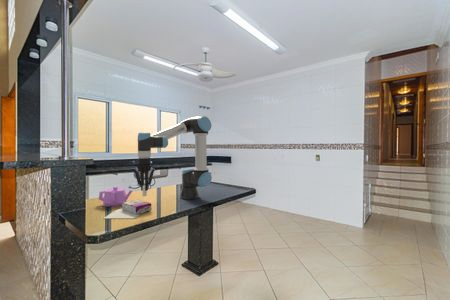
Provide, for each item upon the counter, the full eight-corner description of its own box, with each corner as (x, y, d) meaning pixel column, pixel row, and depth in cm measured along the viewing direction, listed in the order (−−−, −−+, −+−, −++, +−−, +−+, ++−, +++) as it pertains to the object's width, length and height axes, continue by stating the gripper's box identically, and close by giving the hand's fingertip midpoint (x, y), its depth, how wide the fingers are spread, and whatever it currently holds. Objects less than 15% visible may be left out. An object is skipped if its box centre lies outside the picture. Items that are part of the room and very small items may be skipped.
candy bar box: (151, 210, 144) (137, 206, 154) (151, 203, 144) (137, 199, 154) (135, 215, 135) (122, 209, 145) (135, 207, 135) (121, 202, 145)
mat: (145, 209, 148) (145, 209, 148) (134, 218, 130) (134, 218, 130) (117, 209, 147) (117, 209, 147) (103, 218, 129) (103, 218, 129)
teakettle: (96, 205, 158) (96, 187, 158) (118, 200, 173) (118, 184, 173) (112, 208, 150) (112, 190, 150) (133, 202, 165) (133, 186, 165)
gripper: (156, 157, 142) (156, 194, 142) (136, 157, 141) (136, 194, 142) (153, 158, 134) (153, 197, 135) (131, 158, 134) (131, 197, 135)
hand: (144, 195), depth 138 cm, fingers closed
